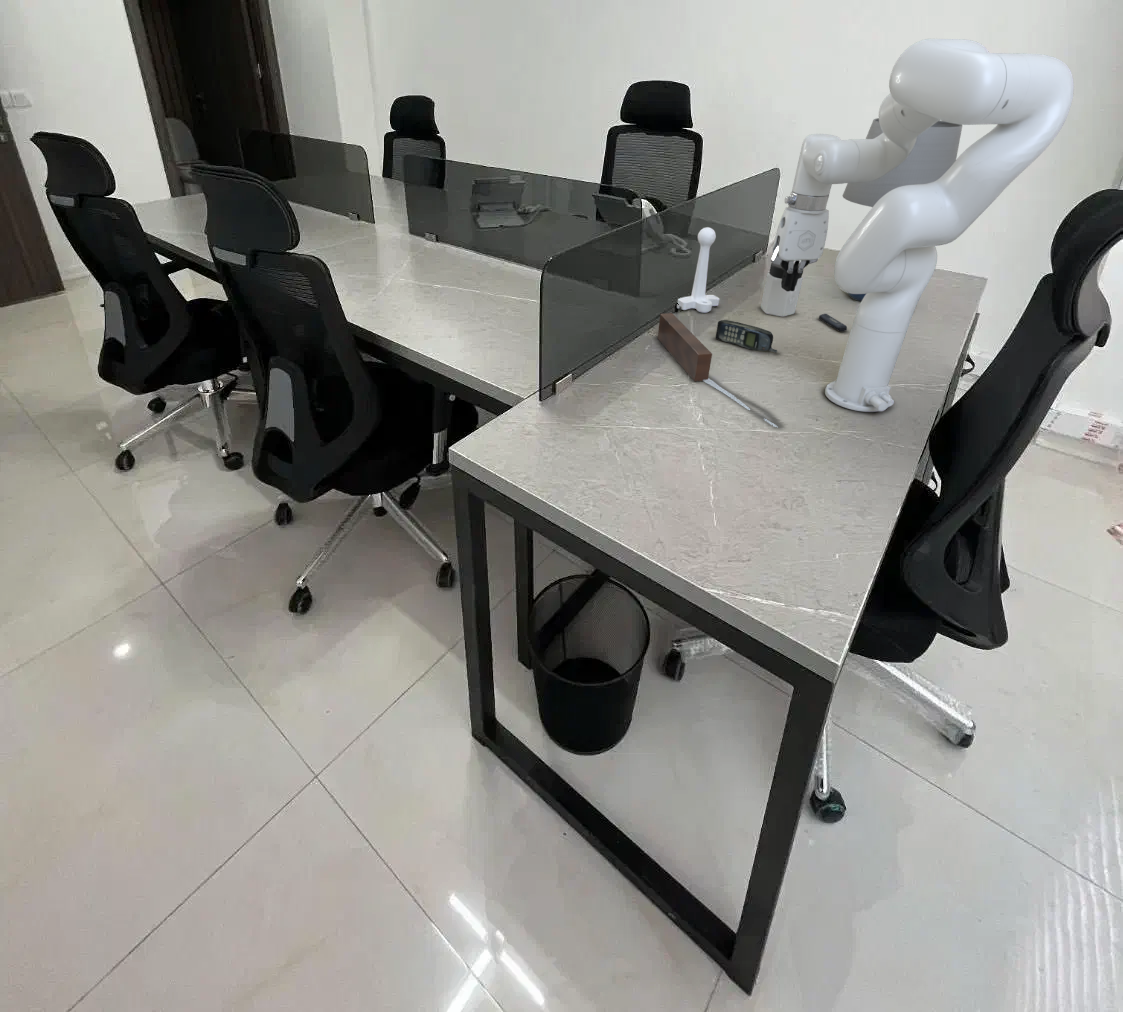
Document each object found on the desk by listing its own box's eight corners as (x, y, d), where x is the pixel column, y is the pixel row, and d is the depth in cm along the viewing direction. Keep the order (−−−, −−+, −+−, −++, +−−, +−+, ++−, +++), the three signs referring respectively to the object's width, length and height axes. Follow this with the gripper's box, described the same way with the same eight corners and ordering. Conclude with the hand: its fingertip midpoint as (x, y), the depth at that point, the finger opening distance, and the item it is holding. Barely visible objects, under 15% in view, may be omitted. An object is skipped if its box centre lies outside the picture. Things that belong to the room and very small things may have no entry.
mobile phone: (716, 320, 153) (777, 334, 146) (722, 317, 155) (782, 331, 148) (713, 340, 156) (773, 356, 149) (719, 337, 158) (778, 351, 151)
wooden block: (707, 380, 138) (712, 353, 135) (694, 381, 138) (698, 354, 134) (669, 337, 157) (672, 313, 153) (657, 338, 156) (660, 313, 153)
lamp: (821, 308, 176) (869, 125, 151) (815, 280, 196) (856, 114, 171) (921, 317, 172) (988, 131, 146) (904, 288, 191) (960, 119, 166)
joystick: (709, 301, 178) (722, 224, 167) (725, 310, 173) (738, 231, 161) (674, 306, 175) (684, 227, 163) (688, 315, 169) (700, 234, 157)
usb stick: (817, 319, 169) (818, 313, 168) (826, 318, 170) (827, 312, 169) (838, 332, 162) (839, 326, 161) (847, 331, 162) (849, 325, 161)
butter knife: (700, 368, 142) (689, 370, 141) (785, 425, 123) (773, 428, 122) (699, 371, 143) (688, 372, 141) (784, 428, 123) (772, 430, 122)
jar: (777, 318, 169) (788, 271, 162) (754, 309, 174) (763, 263, 167) (800, 312, 173) (812, 266, 166) (777, 303, 178) (787, 258, 171)
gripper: (784, 207, 132) (764, 296, 144) (850, 205, 135) (825, 293, 146) (767, 198, 138) (749, 285, 149) (830, 197, 141) (809, 282, 152)
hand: (787, 289), depth 148 cm, fingers closed
